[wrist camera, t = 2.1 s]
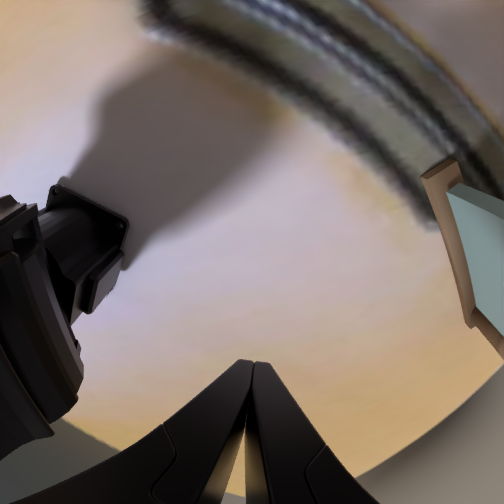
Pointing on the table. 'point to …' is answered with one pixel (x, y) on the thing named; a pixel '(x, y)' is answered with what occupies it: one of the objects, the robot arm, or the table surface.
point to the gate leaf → (482, 247)
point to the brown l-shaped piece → (457, 247)
